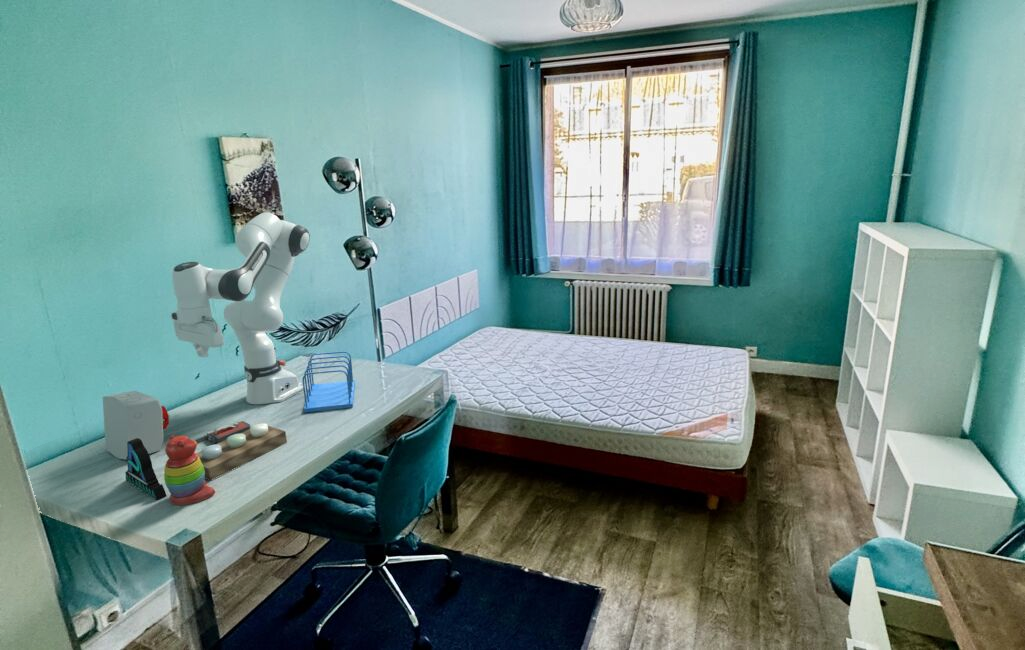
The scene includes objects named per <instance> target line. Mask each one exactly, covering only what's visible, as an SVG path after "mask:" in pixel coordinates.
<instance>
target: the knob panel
mask: <svg viewBox="0 0 1025 650" xmlns="http://www.w3.org/2000/svg"><path fill="white" fill-rule="evenodd" d="M268 431H269V432H268V433H267V434H266V435H264V436H260V437H253V436H251V432H250V429H249V430H247V431H244V432H242V433H240V434H245V437H246V444H245V445H243V446H241V447H237V448H229V447H228V444H227V440H224V441H222V442H220V443H218V444H215V445H220V446H221V449H222V455H221V456H220V457H218V458H215V459H211V460H205V459H203V457H202V452H201V451H198V452H195V453H196V454H197V455H198V457H199V458H200V460H201V463H202V464H203V467H204V471H205V478H207V479H209V480H208V481H210V480H212V479H214V478H216V477H218V476H220V475H222V474H224V473H226V472H228V471H230V470H231V471H233V470H235V469H237V468H239V467H241V466H243V465H245V464H247V463H249V462H251V461H253V460H254V459H257V458H259V457H261V456H263V455H266V454H267V453H268V452H272V451H273V450H275V449H277V448H278V447H281V446H282V445H284V444H287V443H288V441H287V440H288V439H287V434H286V433H287V432H286V431H285V430H282V429H279V428H276V427H274V426H270V425H268ZM250 460H251V461H250ZM248 461H249V462H248ZM246 462H247V463H246ZM244 463H245V464H244ZM242 464H243V465H242ZM240 465H241V466H240ZM238 466H239V467H238ZM236 467H237V468H236ZM234 468H235V469H234ZM232 469H233V470H232ZM231 471H230V472H231ZM228 473H229V472H228ZM226 474H227V473H226ZM224 475H225V474H224ZM222 476H223V475H222ZM220 477H221V476H220ZM205 478H204V479H205ZM218 478H219V477H218ZM207 479H206V480H207ZM216 479H217V478H216ZM214 480H215V479H214ZM212 481H213V480H212Z"/></svg>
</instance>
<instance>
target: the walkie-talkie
mask: <svg viewBox="0 0 1025 650" xmlns="http://www.w3.org/2000/svg"><path fill="white" fill-rule="evenodd" d="M251 427H252V426H251V424H250V423H248V422H246V421H244V420H241V421H238V422H235V421H234V422H233V424H231V425H229V424H224V425H221V426H220V427H217V428H214V430H210V431H208V432H206V434H205V435H203V436H201V437H198V438H195V439H193V440H194V441H196V442H197V443H198V442H201V441H203V440H208V442H210V441H211V442H212V445H216V444H218V443H220V442H222V441H224V440H227V438H228V437H229V436H231V435H234V434H240V433H242V432H244V431H247V430H249V429H250V428H251Z"/></svg>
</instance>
